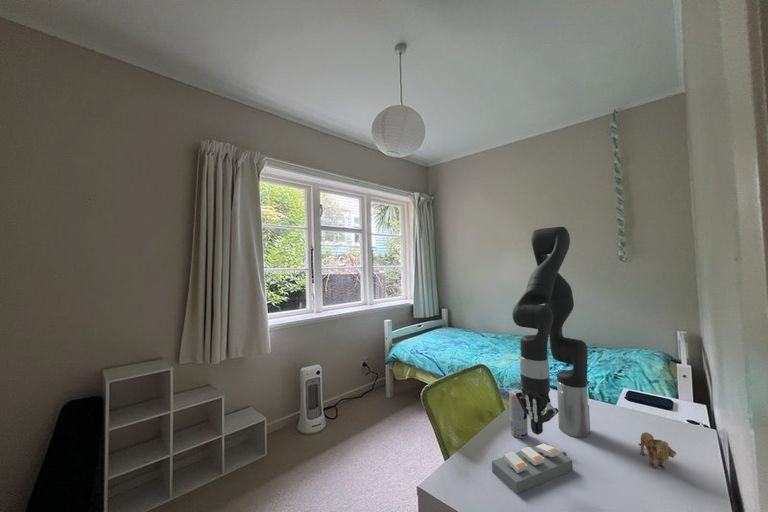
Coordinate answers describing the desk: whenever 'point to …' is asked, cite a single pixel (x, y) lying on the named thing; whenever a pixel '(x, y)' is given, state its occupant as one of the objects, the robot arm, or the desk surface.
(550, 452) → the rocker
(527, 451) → the rocker middle
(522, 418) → the beverage can
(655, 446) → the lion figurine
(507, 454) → the block
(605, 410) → the desk surface
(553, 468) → the rocker switch panel
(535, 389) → the robot arm
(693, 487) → the desk surface
